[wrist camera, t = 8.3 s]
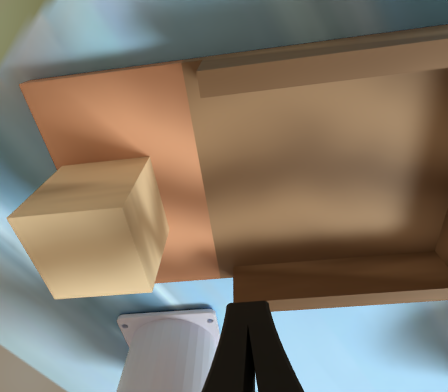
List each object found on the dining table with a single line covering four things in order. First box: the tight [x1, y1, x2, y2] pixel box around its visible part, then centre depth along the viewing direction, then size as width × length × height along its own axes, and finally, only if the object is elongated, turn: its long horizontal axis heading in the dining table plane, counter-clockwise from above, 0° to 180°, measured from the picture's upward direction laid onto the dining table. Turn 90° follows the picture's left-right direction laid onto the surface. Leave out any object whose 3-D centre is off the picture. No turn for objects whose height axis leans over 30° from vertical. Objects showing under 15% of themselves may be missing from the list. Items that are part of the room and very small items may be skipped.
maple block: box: [7, 156, 169, 299], centre depth 16 cm, size 5×5×5 cm
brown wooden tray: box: [19, 24, 448, 312], centre depth 17 cm, size 14×23×4 cm, turn 97°
